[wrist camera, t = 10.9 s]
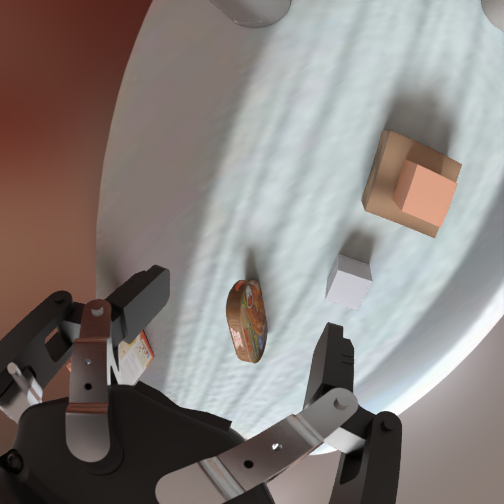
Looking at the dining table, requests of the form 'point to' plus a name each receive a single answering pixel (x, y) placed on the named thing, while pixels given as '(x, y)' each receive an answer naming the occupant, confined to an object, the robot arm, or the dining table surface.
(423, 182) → the terracotta cube
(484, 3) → the lumpy-topped squat cylinder
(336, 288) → the grey-blue cube
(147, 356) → the cracker box
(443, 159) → the walnut block
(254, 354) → the tin
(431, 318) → the dining table surface
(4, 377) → the robot arm
